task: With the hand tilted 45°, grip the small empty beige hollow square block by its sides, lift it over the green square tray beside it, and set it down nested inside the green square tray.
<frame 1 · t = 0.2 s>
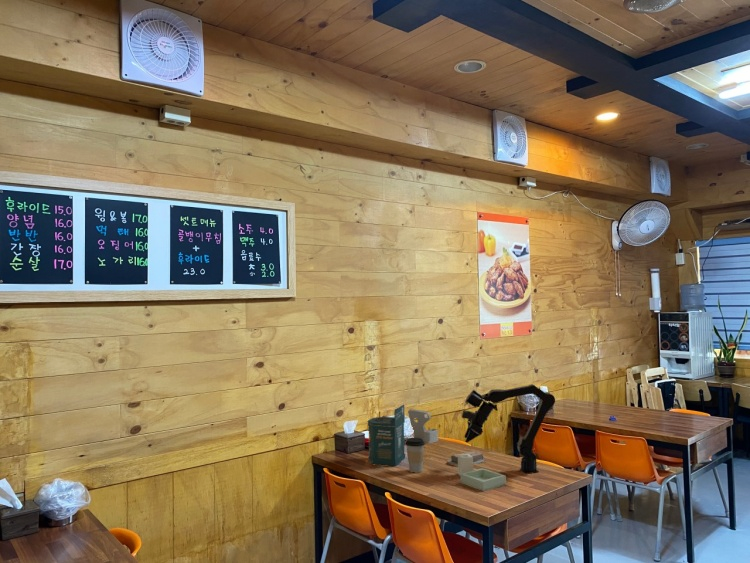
hand: (465, 439, 274), 15 cm above the table, tool tilted 35°, fingers open, 9 cm apart
coffee cup: (415, 471, 273), on the table
green square tray: (483, 483, 252), on the table
donation box: (385, 461, 291), on the table
packaged product: (466, 463, 287), on the table
phone holder: (423, 440, 335), on the table
beige hollow square block: (465, 475, 265), on the table
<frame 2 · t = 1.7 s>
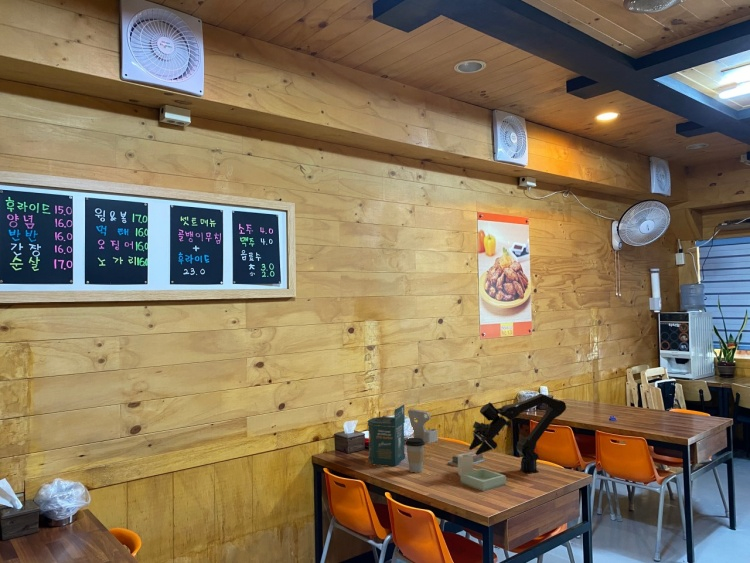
hand: (472, 451, 266), 11 cm above the table, tool tilted 45°, fingers open, 9 cm apart
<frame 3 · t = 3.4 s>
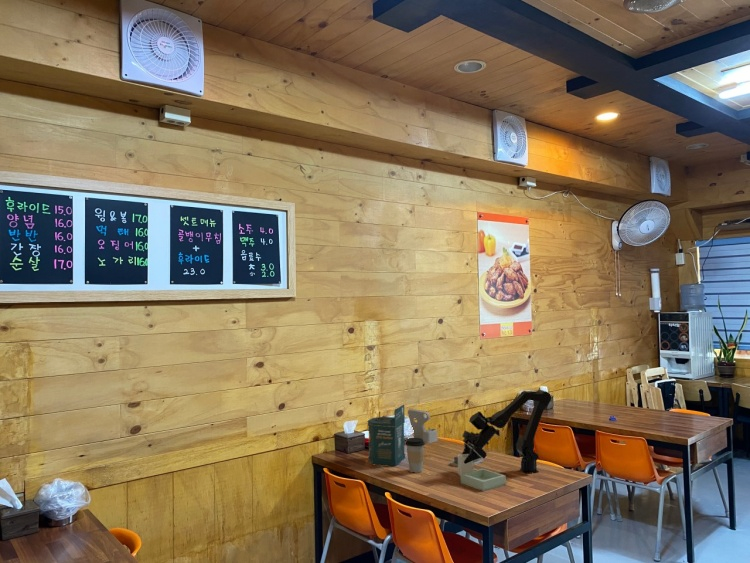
hand: (462, 461, 265), 7 cm above the table, tool tilted 45°, fingers closed on beige hollow square block, 6 cm apart
beige hollow square block: (465, 475, 265), on the table, touching gripper
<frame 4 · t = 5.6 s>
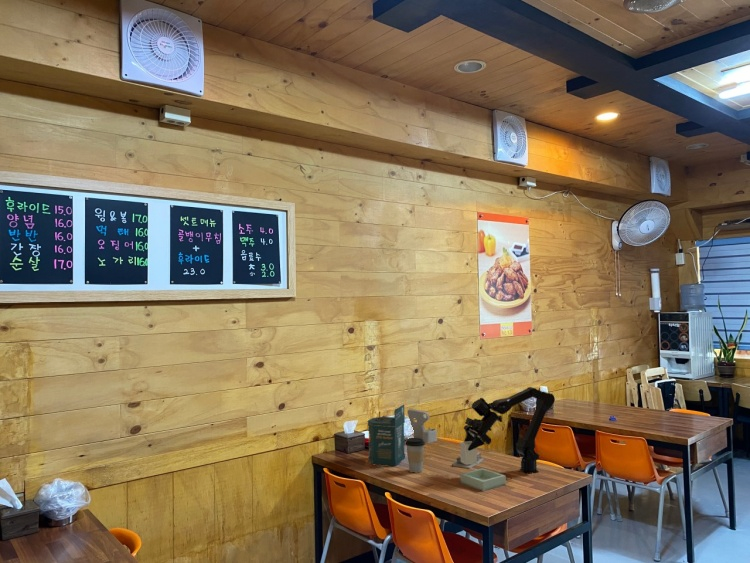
hand: (465, 448, 262), 13 cm above the table, tool tilted 45°, fingers closed on beige hollow square block, 6 cm apart
beige hollow square block: (468, 462, 262), point 7 cm above the table, touching gripper
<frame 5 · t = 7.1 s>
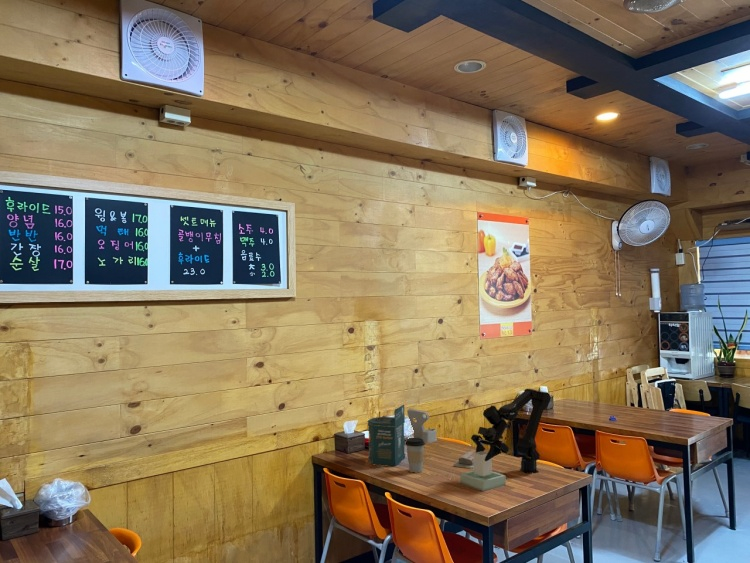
hand: (480, 459, 252), 11 cm above the table, tool tilted 45°, fingers closed on beige hollow square block, 6 cm apart
beige hollow square block: (482, 473, 252), point 4 cm above the table, touching gripper
when the fingers open (9 cm above the table, at t = 8.0 s): beige hollow square block drops 1 cm, resting on green square tray.
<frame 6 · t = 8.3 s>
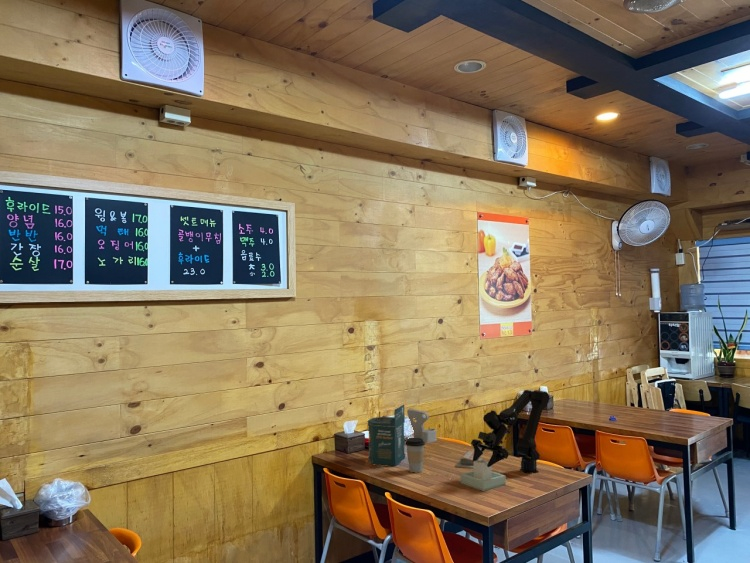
hand: (480, 464, 252), 9 cm above the table, tool tilted 45°, fingers open, 9 cm apart
beige hollow square block: (482, 482, 252), point 1 cm above the table, touching green square tray
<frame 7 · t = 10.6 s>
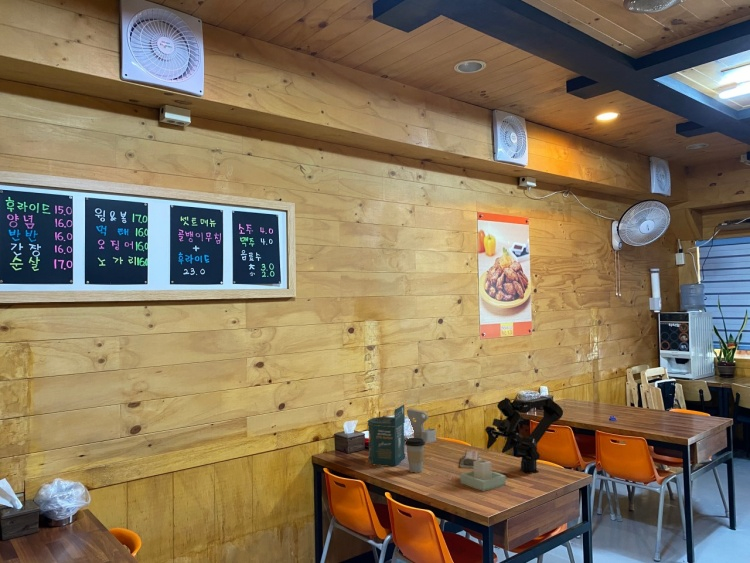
hand: (494, 450, 257), 13 cm above the table, tool tilted 45°, fingers open, 9 cm apart
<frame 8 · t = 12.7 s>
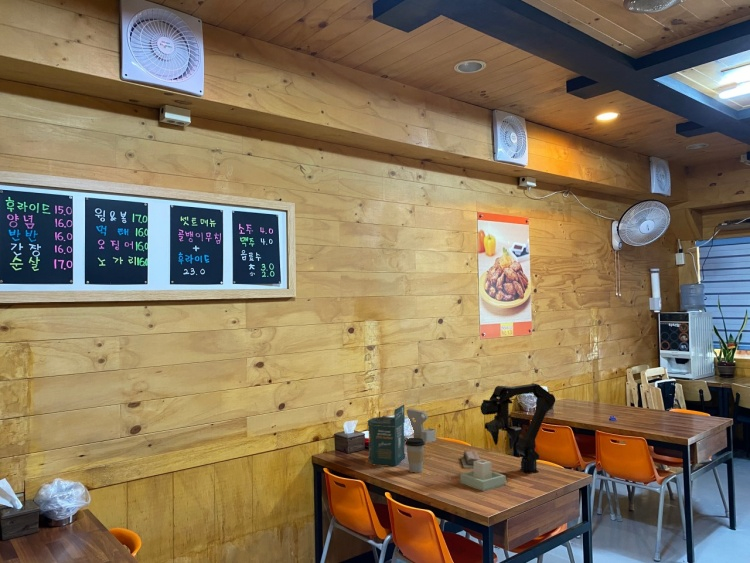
hand: (503, 446, 266), 13 cm above the table, tool pointing down, fingers open, 9 cm apart
at the end: beige hollow square block inside the target area on the green square tray (0.1 cm from its centre), point 0.8 cm above the green square tray's base; beige hollow square block tilted 0° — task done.
